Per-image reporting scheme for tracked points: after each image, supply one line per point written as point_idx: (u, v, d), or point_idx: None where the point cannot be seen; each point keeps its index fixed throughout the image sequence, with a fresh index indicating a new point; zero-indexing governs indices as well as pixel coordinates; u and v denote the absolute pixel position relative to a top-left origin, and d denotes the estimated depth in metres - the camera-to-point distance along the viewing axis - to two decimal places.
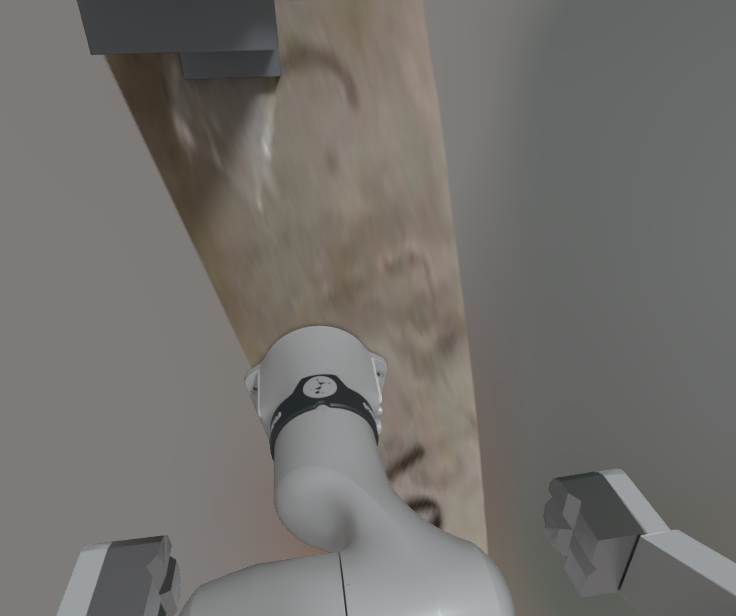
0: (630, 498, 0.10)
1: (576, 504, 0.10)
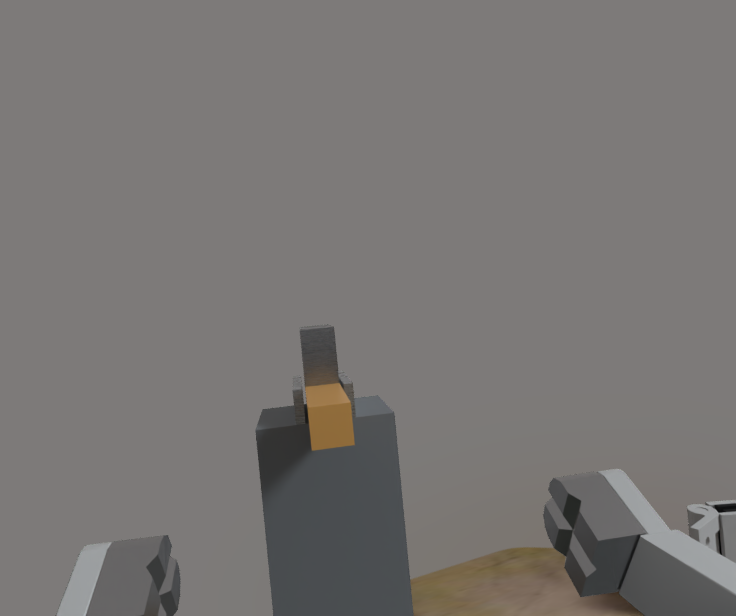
0: (630, 498, 0.10)
1: (576, 504, 0.10)
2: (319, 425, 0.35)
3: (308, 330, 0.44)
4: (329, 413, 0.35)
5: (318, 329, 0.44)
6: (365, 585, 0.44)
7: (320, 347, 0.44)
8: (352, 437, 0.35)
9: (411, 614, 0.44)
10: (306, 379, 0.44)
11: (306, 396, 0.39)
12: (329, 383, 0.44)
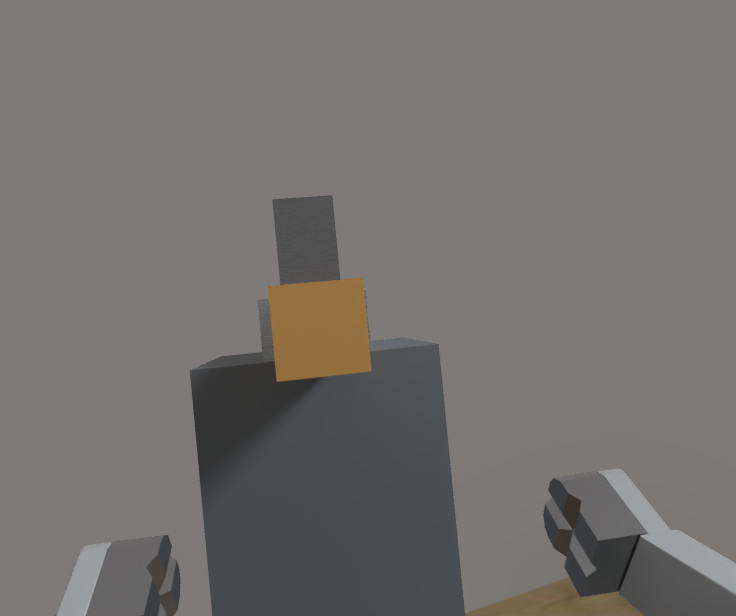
0: (630, 498, 0.10)
1: (576, 504, 0.10)
2: (294, 325, 0.16)
3: (287, 200, 0.25)
4: (316, 300, 0.16)
5: (305, 199, 0.25)
6: None
7: (309, 231, 0.25)
8: (366, 354, 0.16)
9: None
10: None
11: None
12: None
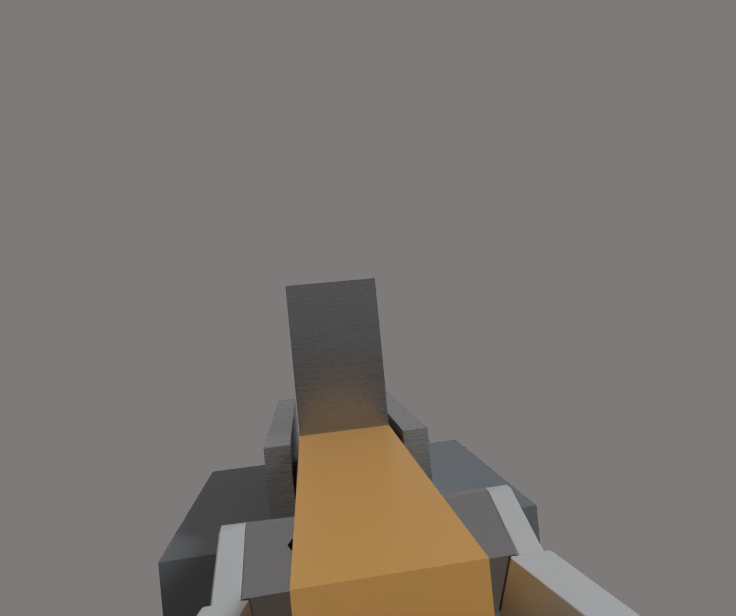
0: (510, 517, 0.10)
1: None
2: None
3: (308, 287, 0.17)
4: (392, 614, 0.07)
5: (334, 284, 0.17)
6: None
7: (340, 332, 0.17)
8: None
9: None
10: (303, 416, 0.17)
11: None
12: (363, 426, 0.17)
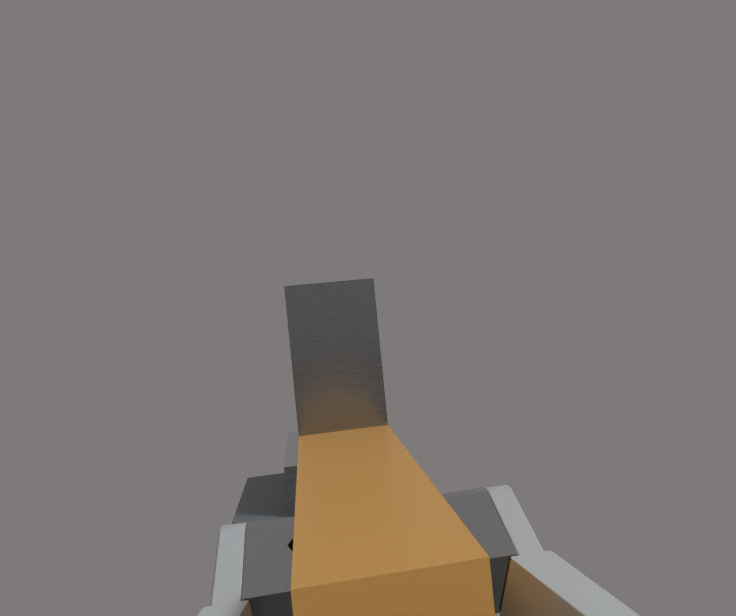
0: (510, 516, 0.10)
1: None
2: None
3: (307, 287, 0.17)
4: (393, 613, 0.07)
5: (333, 284, 0.17)
6: None
7: (339, 333, 0.17)
8: None
9: None
10: (301, 416, 0.17)
11: (296, 485, 0.12)
12: (362, 426, 0.17)
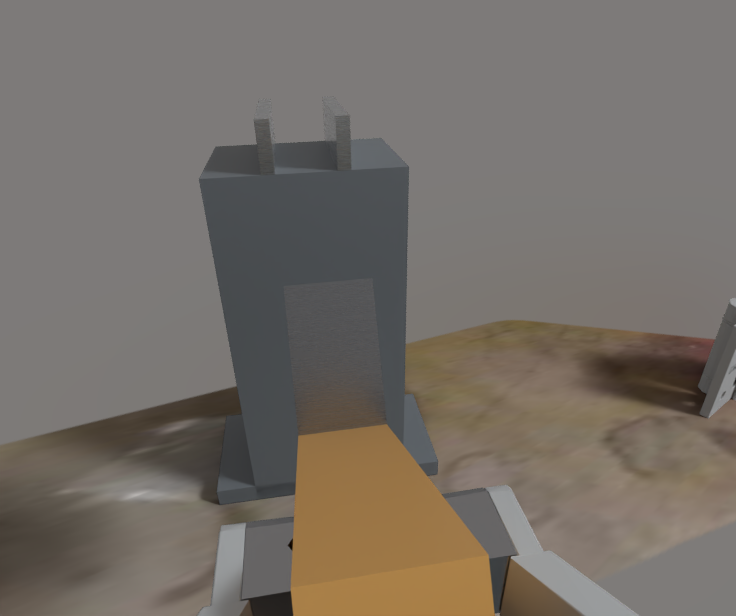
0: (510, 517, 0.10)
1: None
2: None
3: (306, 286, 0.17)
4: (392, 611, 0.07)
5: (332, 284, 0.17)
6: None
7: (338, 332, 0.17)
8: None
9: (402, 404, 0.38)
10: (301, 415, 0.17)
11: None
12: (361, 425, 0.17)
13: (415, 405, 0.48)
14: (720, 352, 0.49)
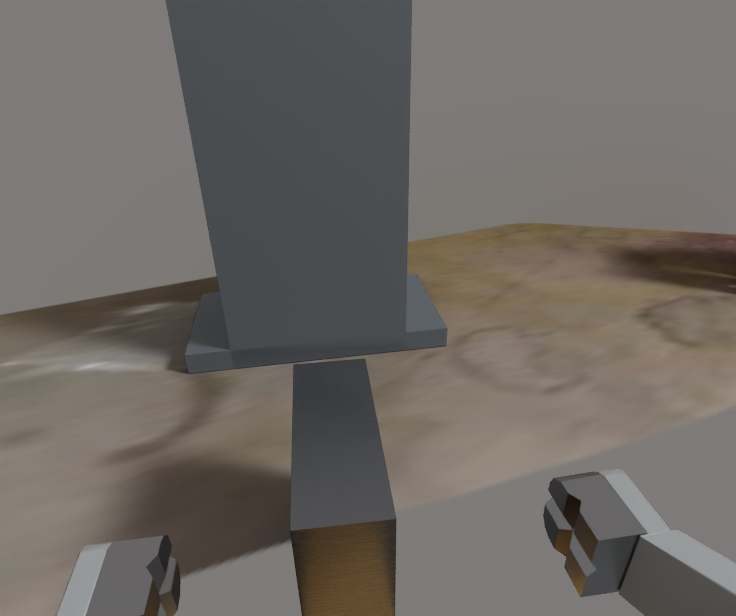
0: (630, 498, 0.10)
1: (576, 504, 0.10)
2: None
3: (316, 529, 0.14)
4: None
5: (348, 527, 0.14)
6: (343, 198, 0.30)
7: (351, 562, 0.15)
8: None
9: (404, 244, 0.32)
10: None
11: None
12: None
13: (419, 283, 0.42)
14: None
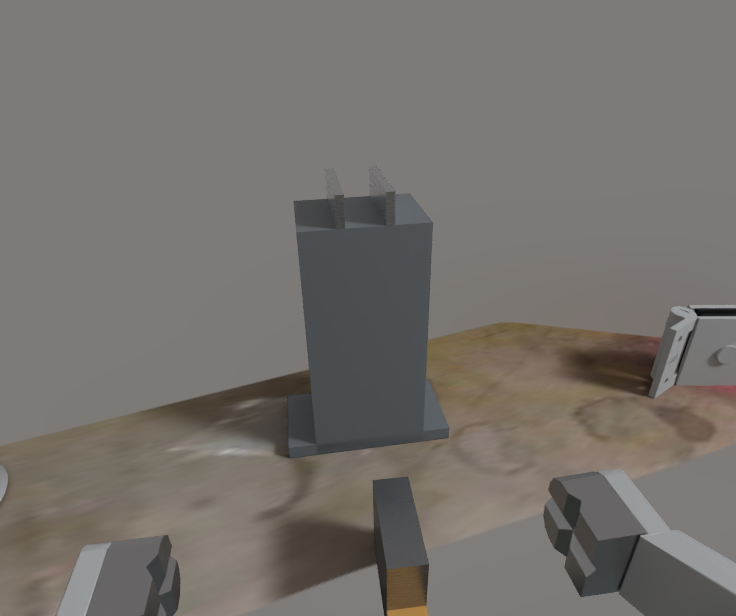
0: (630, 498, 0.10)
1: (576, 504, 0.10)
2: None
3: (397, 568, 0.35)
4: None
5: (409, 567, 0.35)
6: (388, 362, 0.51)
7: (409, 581, 0.36)
8: None
9: (423, 384, 0.53)
10: (389, 605, 0.37)
11: None
12: (415, 607, 0.38)
13: (430, 388, 0.63)
14: None
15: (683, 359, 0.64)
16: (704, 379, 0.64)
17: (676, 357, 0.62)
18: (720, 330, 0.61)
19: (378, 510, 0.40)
